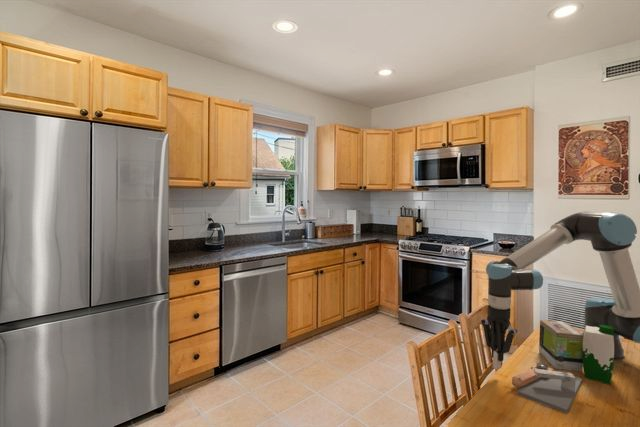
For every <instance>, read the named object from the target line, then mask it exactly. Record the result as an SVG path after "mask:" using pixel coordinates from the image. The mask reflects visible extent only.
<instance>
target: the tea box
mask: <svg viewBox="0 0 640 427" xmlns="http://www.w3.org/2000/svg"><path fill="white" fill-rule="evenodd" d="M539 321H540V322H539V337H538V338H539V344H538V352H539V354H541V355H542V357H544V359H545V360H546V361H548V363H550V364H551V366H553V368H554V369H555V370H556V369H557V370H563V371H564V370H565V371H567V370H568V371H575V372H577V371H578V372H583V371H584V369H583V363H582V349H583V337H584V335H583V332H580V331H579V330H577V329H576V328H574V327H573V326H572V325H570V324H569V323H567V322H566V321H562V320H561V321H559V320H549V319H548V320H546V319H540V320H539Z"/></svg>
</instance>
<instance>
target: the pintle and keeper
mask: <svg viewBox="0 0 640 427" xmlns="http://www.w3.org/2000/svg"><path fill="white" fill-rule="evenodd" d="M535 365H536V366H537V367H538V368H540V369H534V373H535V375H536V376H537V377H544V378H551V379H559V380H561V387H562V388H563V390H564V391H567V392H575V377H574V376H575V375H574V374H573V373H572V372H565V371H560V372H558V371H559V370H556V371H550V370H544V369H548V367H549V365H548V364H546V363H544V362H536V364H535Z"/></svg>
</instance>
